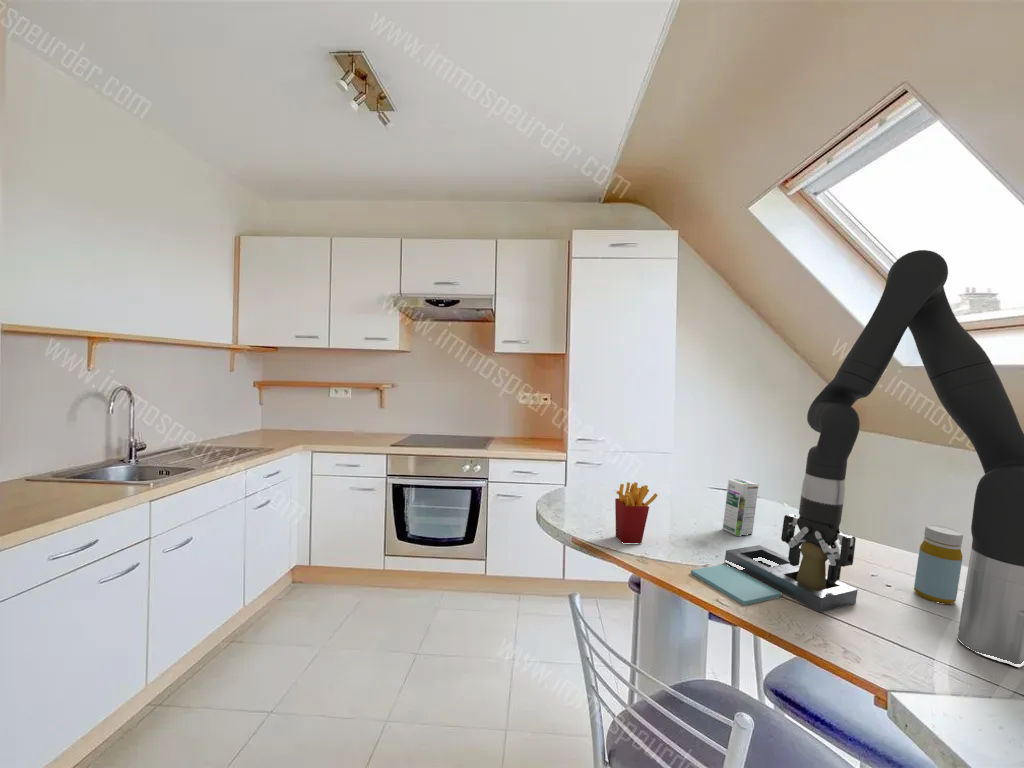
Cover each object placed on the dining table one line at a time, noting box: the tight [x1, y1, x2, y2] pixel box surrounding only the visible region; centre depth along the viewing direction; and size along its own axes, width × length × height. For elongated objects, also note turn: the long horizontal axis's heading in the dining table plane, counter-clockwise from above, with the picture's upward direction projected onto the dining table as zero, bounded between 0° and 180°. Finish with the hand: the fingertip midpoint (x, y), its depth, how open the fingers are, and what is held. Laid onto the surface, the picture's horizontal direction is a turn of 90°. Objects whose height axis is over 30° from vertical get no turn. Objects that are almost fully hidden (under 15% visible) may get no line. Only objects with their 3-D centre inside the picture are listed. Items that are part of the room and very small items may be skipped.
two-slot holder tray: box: [724, 544, 858, 614], centre depth 111 cm, size 23×12×3 cm, turn 26°
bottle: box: [913, 524, 964, 605], centre depth 109 cm, size 7×7×15 cm
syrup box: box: [722, 478, 759, 537], centre depth 140 cm, size 6×6×14 cm
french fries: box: [614, 481, 659, 544], centre depth 129 cm, size 9×8×15 cm
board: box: [690, 563, 783, 606], centre depth 108 cm, size 14×11×1 cm
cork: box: [796, 541, 829, 591], centre depth 106 cm, size 6×6×11 cm
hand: (812, 573), depth 106 cm, fingers open, 7 cm apart
